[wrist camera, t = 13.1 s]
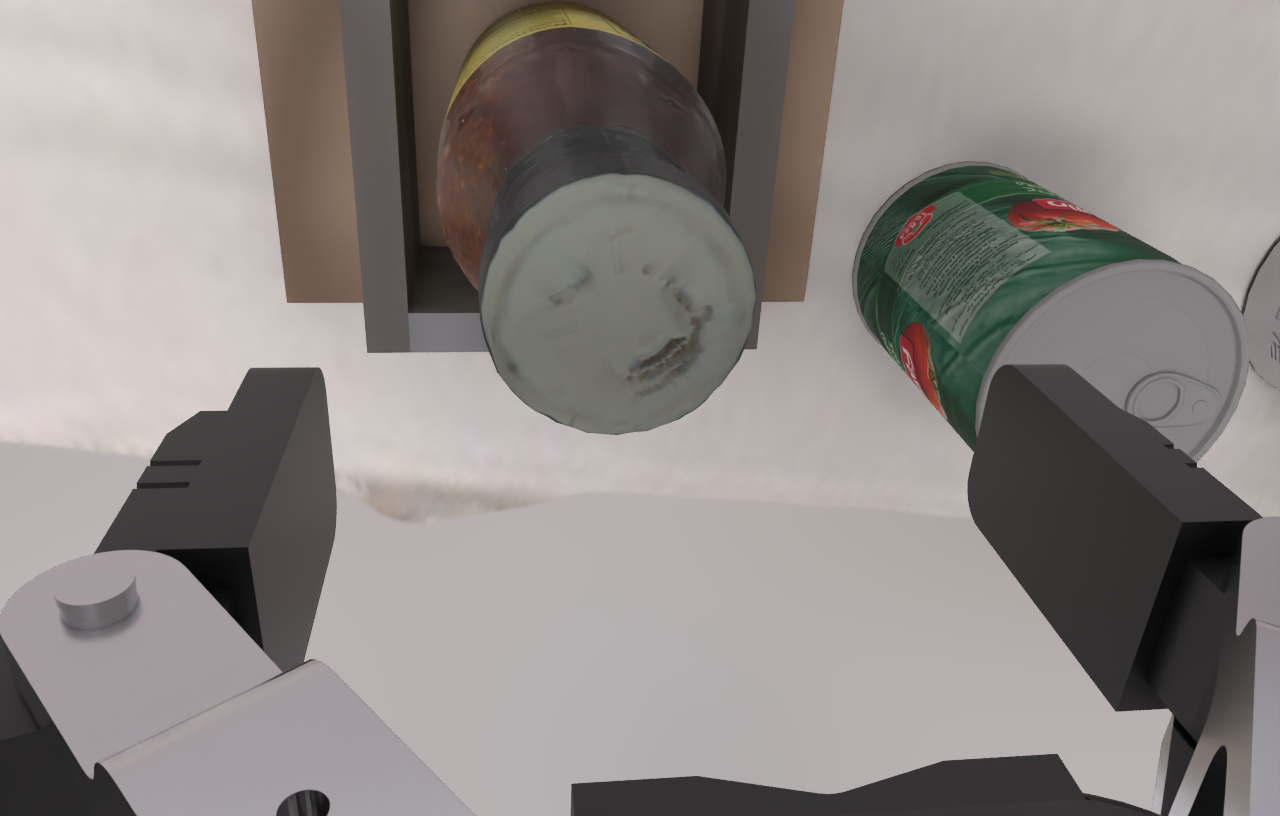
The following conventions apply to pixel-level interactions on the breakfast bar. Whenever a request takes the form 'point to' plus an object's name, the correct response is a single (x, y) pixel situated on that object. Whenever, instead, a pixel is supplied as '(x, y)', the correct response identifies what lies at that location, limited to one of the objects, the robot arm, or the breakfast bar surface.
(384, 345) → the bottle holder
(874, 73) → the breakfast bar surface
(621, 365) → the sauce bottle
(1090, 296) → the canned tomato
